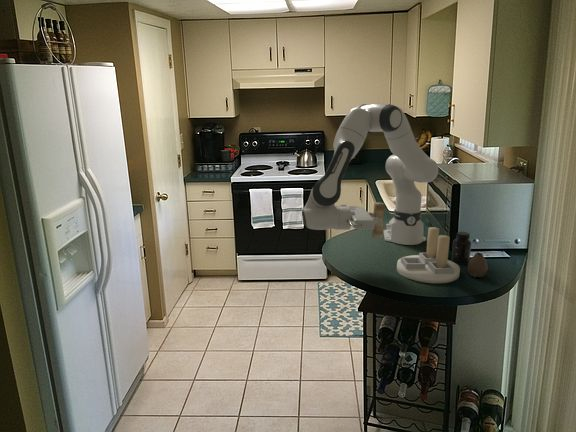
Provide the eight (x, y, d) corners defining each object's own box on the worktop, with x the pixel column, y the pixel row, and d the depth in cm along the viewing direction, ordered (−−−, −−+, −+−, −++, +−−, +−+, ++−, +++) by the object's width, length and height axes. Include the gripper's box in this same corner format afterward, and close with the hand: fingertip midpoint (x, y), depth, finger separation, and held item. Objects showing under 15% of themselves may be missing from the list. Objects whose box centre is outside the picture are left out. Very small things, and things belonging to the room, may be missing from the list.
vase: (472, 271, 186) (475, 249, 184) (489, 276, 181) (492, 254, 179) (463, 275, 182) (465, 253, 179) (480, 280, 177) (483, 258, 174)
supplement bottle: (447, 260, 198) (450, 231, 194) (460, 257, 200) (463, 230, 197) (459, 265, 192) (462, 236, 188) (472, 263, 194) (476, 234, 191)
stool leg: (371, 235, 188) (372, 202, 185) (381, 234, 188) (383, 202, 185) (373, 238, 184) (375, 205, 181) (383, 238, 185) (385, 204, 181)
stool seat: (389, 261, 195) (392, 224, 191) (445, 260, 197) (449, 223, 193) (407, 283, 173) (410, 242, 169) (469, 282, 175) (474, 241, 171)
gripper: (350, 217, 173) (388, 216, 174) (340, 203, 193) (375, 203, 193) (349, 234, 174) (387, 233, 175) (340, 218, 194) (374, 218, 195)
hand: (380, 217), depth 185 cm, fingers closed on stool leg, 4 cm apart
